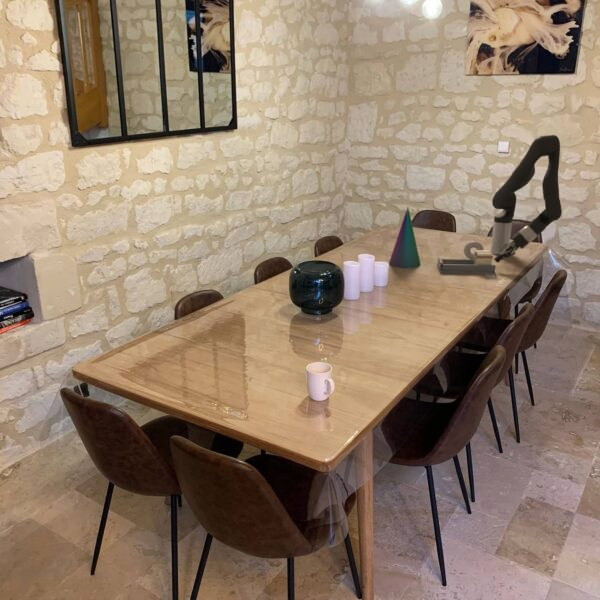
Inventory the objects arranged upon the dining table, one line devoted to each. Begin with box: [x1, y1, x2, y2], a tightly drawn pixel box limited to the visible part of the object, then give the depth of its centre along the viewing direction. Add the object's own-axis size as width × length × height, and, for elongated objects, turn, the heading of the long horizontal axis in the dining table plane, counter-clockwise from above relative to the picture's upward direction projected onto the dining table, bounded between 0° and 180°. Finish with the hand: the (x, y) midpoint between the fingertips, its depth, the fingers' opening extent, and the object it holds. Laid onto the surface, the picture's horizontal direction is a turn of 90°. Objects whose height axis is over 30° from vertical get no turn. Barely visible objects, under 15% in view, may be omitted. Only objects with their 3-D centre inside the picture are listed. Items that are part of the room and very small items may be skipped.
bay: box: [436, 256, 497, 275], centre depth 289 cm, size 14×26×5 cm, turn 85°
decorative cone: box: [388, 206, 422, 269], centre depth 296 cm, size 16×16×30 cm
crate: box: [474, 249, 494, 265], centre depth 288 cm, size 7×7×8 cm
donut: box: [463, 240, 485, 259], centre depth 306 cm, size 10×4×10 cm, turn 76°
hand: (495, 260), depth 287 cm, fingers closed
